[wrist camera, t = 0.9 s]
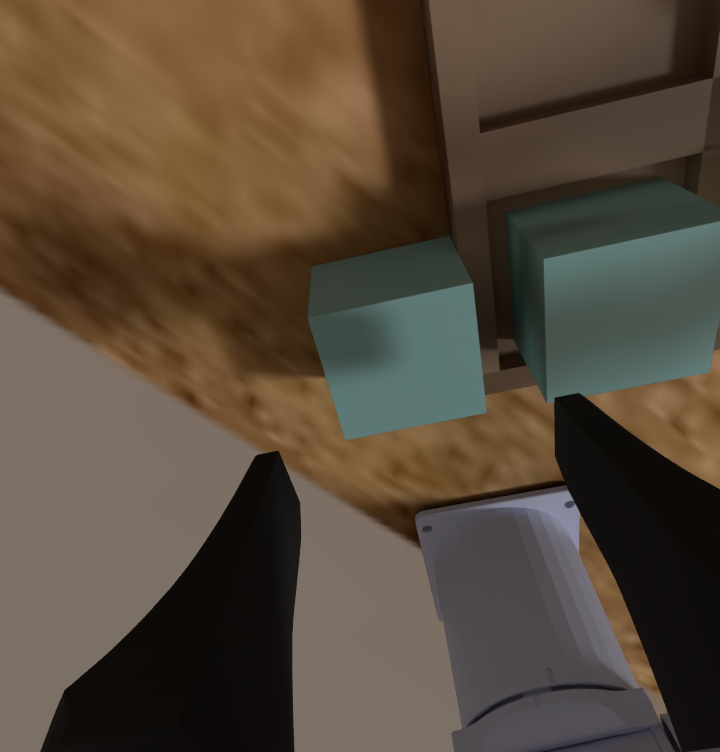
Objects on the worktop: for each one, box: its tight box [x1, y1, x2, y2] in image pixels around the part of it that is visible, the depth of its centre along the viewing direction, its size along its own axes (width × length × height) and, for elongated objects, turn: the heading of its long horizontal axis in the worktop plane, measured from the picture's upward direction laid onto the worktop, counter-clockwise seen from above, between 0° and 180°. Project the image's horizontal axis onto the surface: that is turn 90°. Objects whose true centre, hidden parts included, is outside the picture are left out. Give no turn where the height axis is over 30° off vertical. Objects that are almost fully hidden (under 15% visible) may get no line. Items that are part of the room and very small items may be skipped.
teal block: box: [307, 236, 487, 440], centre depth 19 cm, size 5×5×4 cm
